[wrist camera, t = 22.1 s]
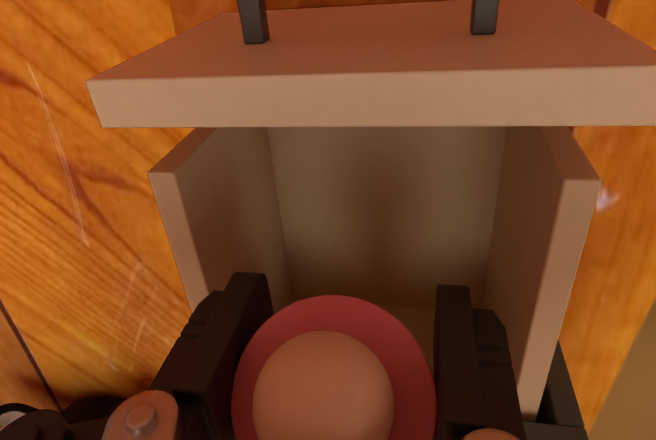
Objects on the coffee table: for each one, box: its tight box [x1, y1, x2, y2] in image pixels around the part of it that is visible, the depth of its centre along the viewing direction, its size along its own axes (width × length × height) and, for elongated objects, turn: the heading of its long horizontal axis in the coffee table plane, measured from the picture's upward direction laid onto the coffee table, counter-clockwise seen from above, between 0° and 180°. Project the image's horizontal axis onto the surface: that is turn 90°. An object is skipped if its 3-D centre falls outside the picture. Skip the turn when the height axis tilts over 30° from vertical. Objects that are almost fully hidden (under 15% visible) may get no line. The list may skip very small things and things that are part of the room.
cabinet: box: [523, 340, 589, 440], centre depth 23 cm, size 16×14×11 cm
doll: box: [231, 295, 437, 440], centre depth 11 cm, size 4×4×8 cm
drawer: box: [86, 0, 656, 423], centre depth 16 cm, size 19×12×9 cm, turn 4°
